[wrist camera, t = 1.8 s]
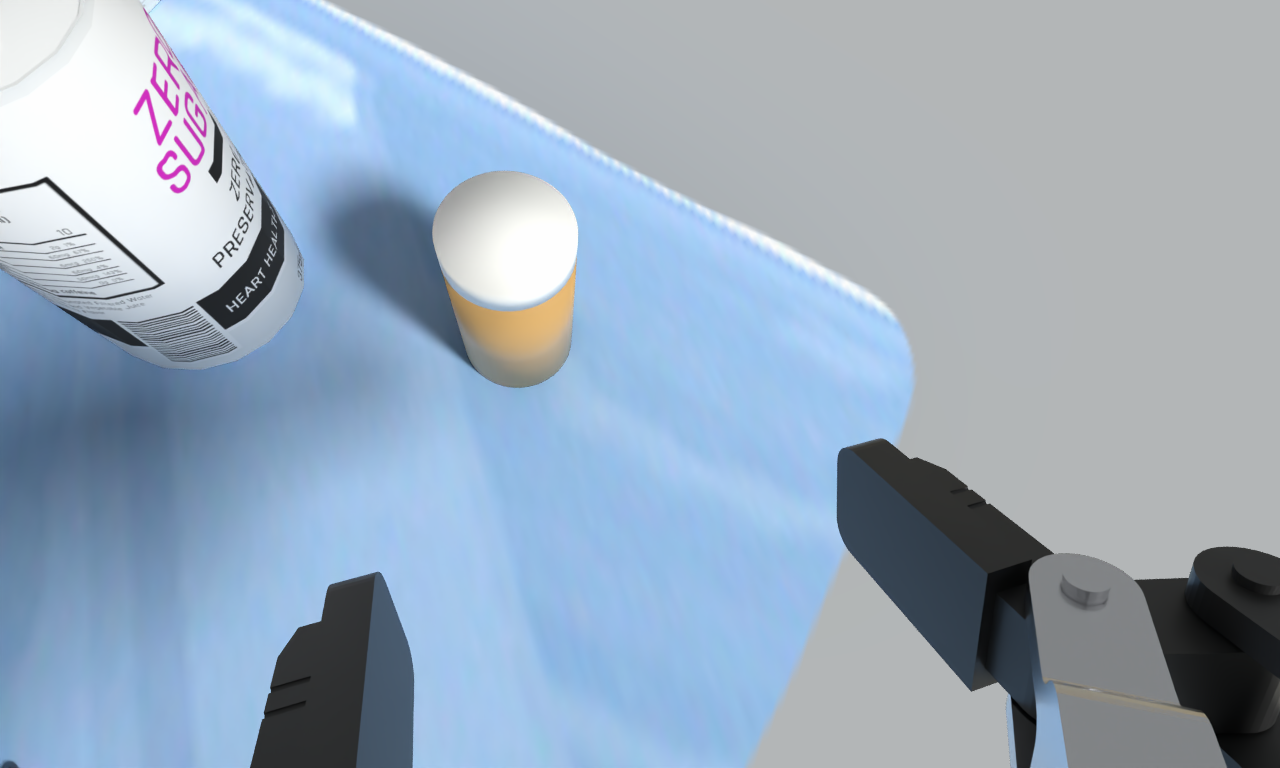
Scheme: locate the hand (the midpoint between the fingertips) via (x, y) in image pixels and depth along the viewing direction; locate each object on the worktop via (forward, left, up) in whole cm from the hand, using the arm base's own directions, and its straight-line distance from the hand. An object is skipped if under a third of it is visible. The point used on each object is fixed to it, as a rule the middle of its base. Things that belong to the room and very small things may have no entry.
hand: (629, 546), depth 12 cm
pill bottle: (-8, +9, -17) cm, 21 cm away
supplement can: (-21, +5, -18) cm, 28 cm away
